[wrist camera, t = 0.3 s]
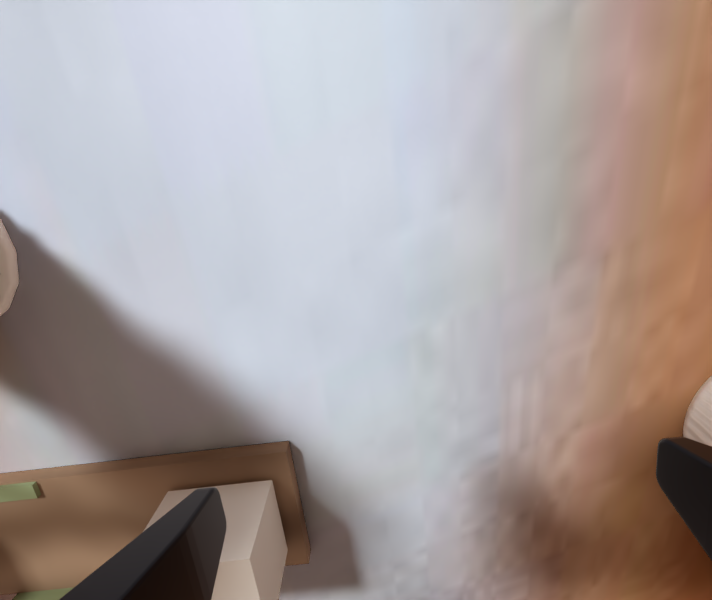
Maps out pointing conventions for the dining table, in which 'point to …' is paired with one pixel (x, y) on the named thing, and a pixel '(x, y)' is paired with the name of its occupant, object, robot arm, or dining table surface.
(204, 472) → the gauge board
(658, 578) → the dining table surface
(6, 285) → the decorative candle
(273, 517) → the block
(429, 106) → the dining table surface
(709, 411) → the ramekin
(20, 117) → the dining table surface
